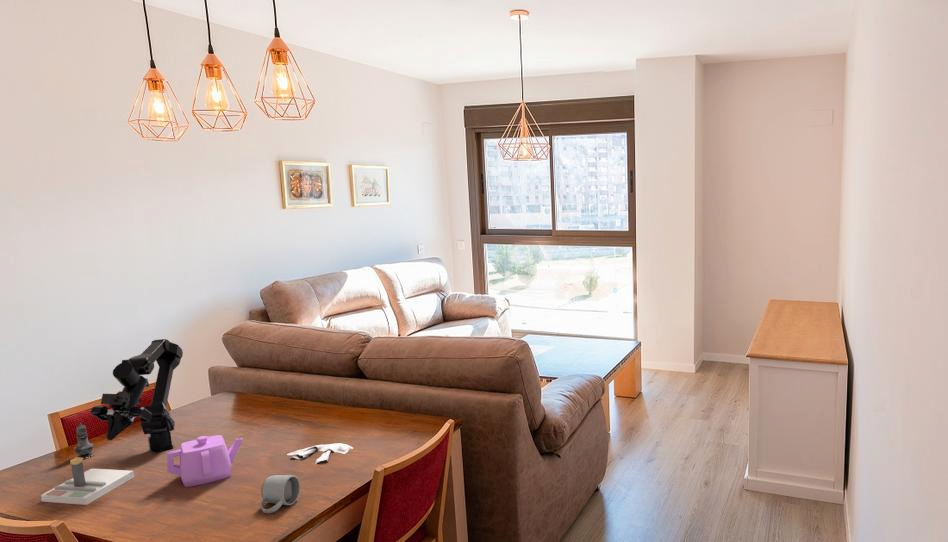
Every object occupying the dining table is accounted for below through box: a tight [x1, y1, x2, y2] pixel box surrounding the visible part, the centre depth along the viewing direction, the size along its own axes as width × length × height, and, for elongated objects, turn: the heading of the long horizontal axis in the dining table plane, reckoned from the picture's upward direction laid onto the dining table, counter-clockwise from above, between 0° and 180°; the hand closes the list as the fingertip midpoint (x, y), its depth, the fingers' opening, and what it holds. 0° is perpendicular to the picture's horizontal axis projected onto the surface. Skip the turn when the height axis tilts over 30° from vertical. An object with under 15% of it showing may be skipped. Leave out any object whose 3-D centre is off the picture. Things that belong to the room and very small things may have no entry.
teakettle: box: [166, 434, 243, 488], centre depth 198 cm, size 17×17×12 cm
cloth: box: [286, 442, 354, 465], centre depth 209 cm, size 20×22×2 cm
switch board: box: [40, 468, 135, 506], centre depth 195 cm, size 18×16×3 cm
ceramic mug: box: [259, 474, 301, 514], centre depth 176 cm, size 11×8×8 cm
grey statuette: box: [73, 422, 94, 458], centre depth 220 cm, size 6×6×12 cm
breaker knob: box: [69, 456, 86, 487], centre depth 191 cm, size 2×2×8 cm
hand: (108, 439), depth 197 cm, fingers closed
